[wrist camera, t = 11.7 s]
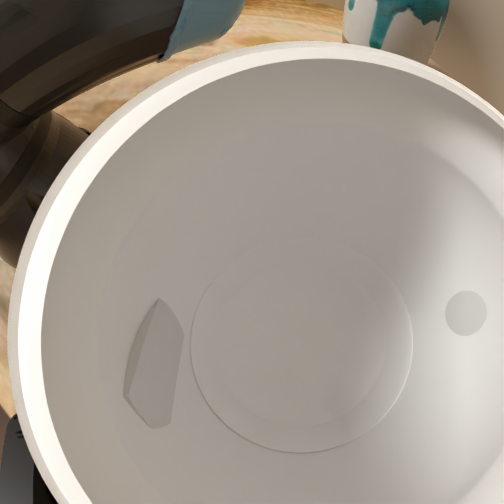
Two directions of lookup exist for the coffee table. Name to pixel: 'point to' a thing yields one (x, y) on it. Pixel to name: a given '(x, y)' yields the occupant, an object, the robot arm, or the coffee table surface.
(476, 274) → the jar
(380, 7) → the vase
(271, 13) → the coffee table surface
